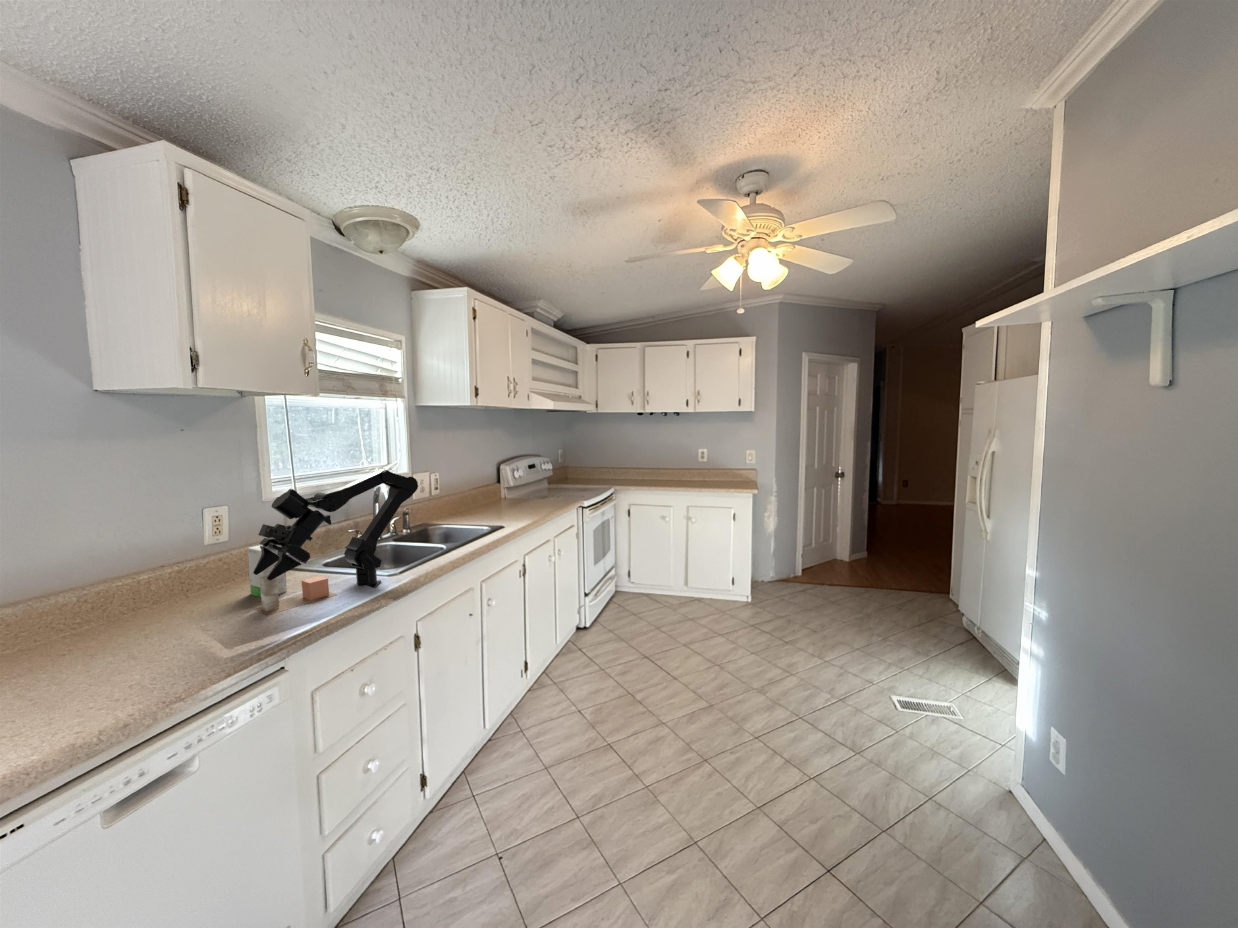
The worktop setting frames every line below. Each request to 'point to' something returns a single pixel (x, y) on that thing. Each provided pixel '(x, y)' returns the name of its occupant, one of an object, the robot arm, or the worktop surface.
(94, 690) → the worktop surface
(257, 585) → the skincare box
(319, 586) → the cube
